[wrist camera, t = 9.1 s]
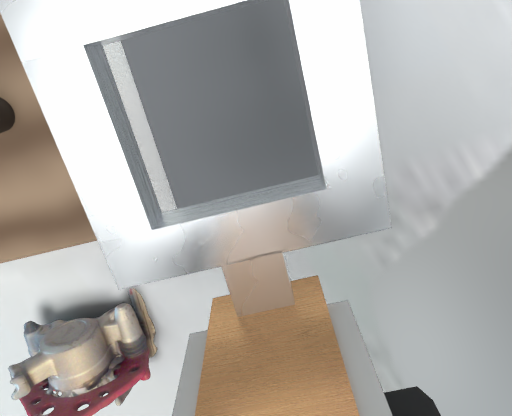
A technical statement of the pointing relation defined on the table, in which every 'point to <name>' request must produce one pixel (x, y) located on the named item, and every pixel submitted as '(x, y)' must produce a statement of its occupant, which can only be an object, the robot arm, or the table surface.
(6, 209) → the wooden peg stand
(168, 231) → the square frame with handle
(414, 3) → the table surface
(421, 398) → the robot arm
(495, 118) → the table surface
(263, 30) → the rubber mat
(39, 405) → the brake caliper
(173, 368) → the table surface
